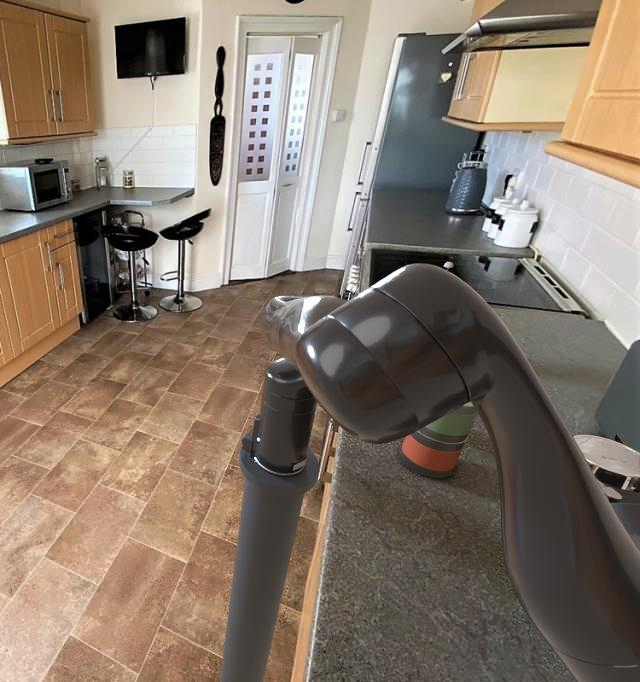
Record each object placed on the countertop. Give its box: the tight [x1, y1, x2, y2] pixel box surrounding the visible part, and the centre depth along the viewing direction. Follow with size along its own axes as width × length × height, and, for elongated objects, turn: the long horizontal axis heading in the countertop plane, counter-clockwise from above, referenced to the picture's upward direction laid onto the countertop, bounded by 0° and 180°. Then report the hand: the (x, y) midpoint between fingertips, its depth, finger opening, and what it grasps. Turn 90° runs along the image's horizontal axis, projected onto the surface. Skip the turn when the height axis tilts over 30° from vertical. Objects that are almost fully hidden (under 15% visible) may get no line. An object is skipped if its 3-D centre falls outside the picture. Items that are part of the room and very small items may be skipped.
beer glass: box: [573, 434, 640, 493], centre depth 50 cm, size 7×7×15 cm
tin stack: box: [399, 402, 479, 479], centre depth 77 cm, size 9×9×16 cm
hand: (595, 456), depth 49 cm, fingers closed on beer glass, 7 cm apart
